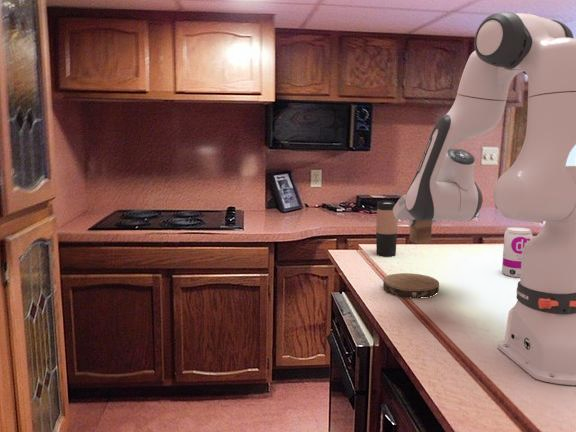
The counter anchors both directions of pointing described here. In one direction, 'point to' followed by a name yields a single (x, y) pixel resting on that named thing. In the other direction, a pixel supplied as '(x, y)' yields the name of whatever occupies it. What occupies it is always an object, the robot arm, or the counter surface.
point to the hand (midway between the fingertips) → (419, 223)
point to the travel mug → (386, 229)
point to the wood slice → (410, 285)
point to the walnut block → (421, 232)
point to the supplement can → (514, 249)
